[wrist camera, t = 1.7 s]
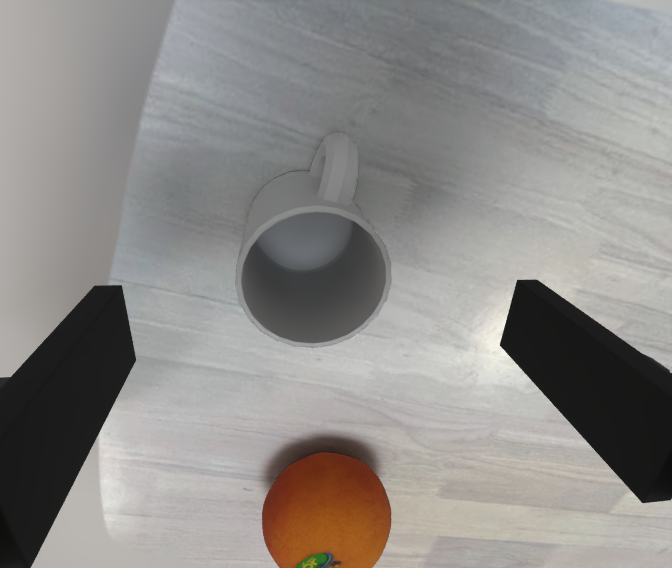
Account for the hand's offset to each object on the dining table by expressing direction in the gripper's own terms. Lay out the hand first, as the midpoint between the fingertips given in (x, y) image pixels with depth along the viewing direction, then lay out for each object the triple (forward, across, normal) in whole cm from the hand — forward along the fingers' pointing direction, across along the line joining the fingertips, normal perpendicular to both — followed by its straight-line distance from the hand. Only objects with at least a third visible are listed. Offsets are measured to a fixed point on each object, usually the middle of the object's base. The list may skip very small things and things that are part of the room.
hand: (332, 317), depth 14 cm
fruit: (+14, +2, -25) cm, 29 cm away
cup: (+14, 0, 0) cm, 14 cm away
